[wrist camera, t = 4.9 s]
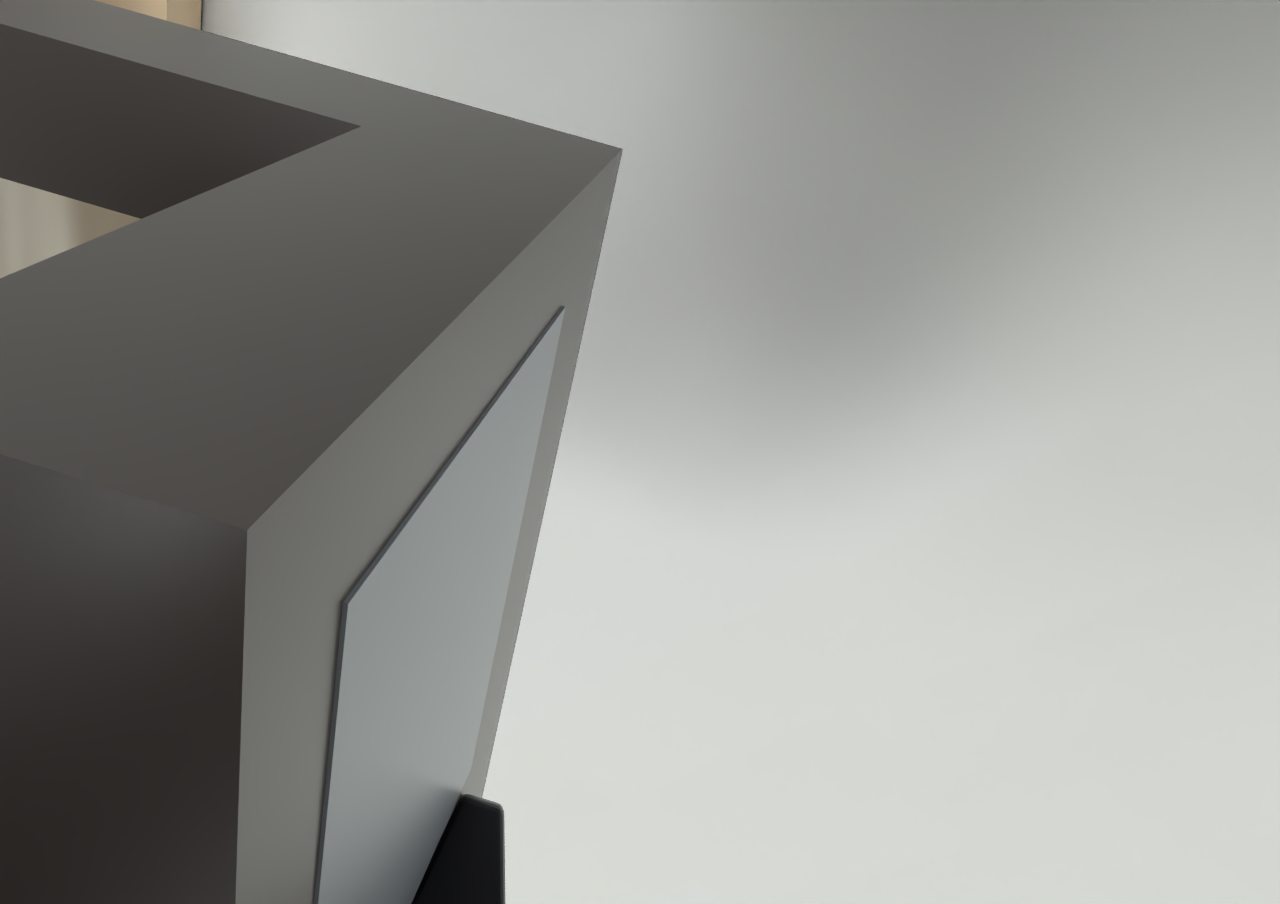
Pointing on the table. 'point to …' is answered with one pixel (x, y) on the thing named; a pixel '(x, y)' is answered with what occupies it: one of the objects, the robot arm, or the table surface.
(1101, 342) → the table surface
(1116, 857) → the table surface
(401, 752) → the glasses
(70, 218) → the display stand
